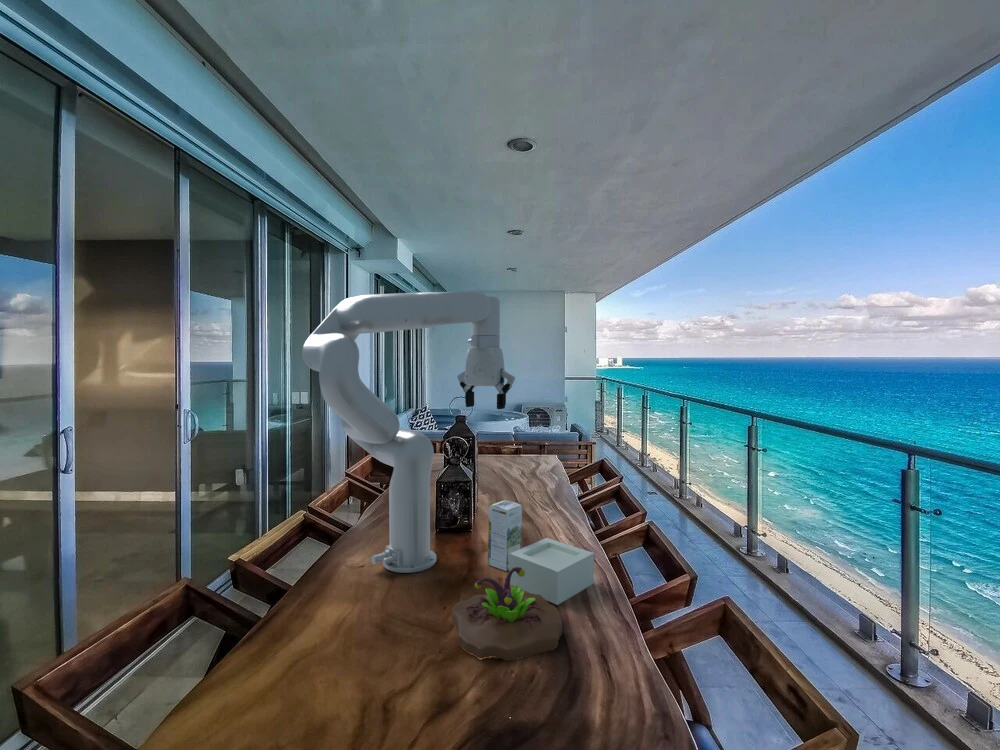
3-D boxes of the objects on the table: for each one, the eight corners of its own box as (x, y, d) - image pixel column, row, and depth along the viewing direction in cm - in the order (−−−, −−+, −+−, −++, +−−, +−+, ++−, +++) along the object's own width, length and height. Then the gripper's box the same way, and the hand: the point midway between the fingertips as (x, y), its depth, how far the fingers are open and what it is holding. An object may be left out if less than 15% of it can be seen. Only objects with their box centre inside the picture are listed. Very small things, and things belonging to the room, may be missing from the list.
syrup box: (502, 557, 122) (502, 499, 122) (522, 564, 119) (522, 503, 118) (487, 565, 118) (487, 504, 117) (507, 572, 114) (507, 509, 114)
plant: (578, 654, 84) (579, 589, 83) (462, 669, 80) (462, 600, 79) (543, 597, 103) (544, 544, 103) (449, 607, 99) (449, 551, 99)
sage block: (557, 606, 99) (557, 571, 99) (509, 585, 108) (509, 553, 108) (593, 584, 109) (594, 553, 109) (546, 567, 118) (546, 537, 118)
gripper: (450, 343, 133) (450, 407, 134) (507, 342, 125) (506, 411, 125) (466, 343, 140) (466, 404, 140) (521, 343, 131) (520, 408, 132)
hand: (485, 407), depth 133 cm, fingers open, 9 cm apart
